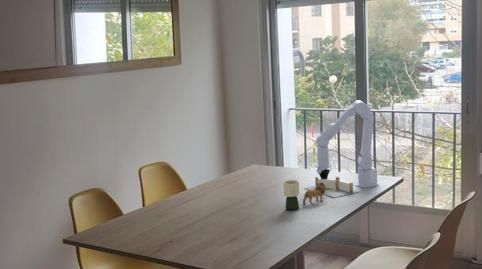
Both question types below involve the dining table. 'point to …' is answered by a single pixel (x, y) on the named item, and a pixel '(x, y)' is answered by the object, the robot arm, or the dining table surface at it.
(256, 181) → the dining table surface
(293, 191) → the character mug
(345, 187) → the fixed fence panel
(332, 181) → the hinged fence panel
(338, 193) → the card
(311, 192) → the lion figurine
